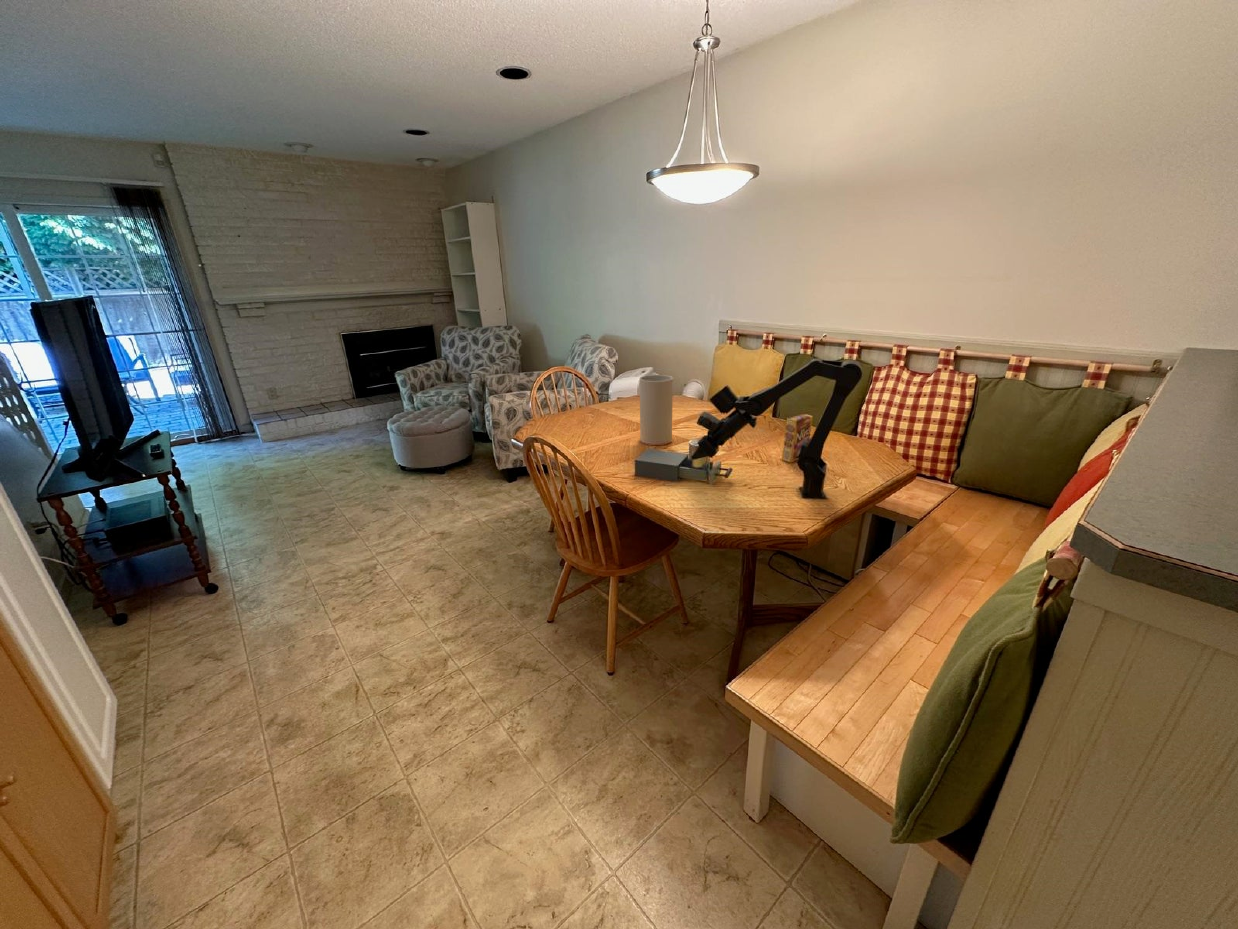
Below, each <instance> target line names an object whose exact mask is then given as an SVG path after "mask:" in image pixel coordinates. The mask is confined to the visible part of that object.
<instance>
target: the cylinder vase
mask: <svg viewBox="0 0 1238 929" xmlns="http://www.w3.org/2000/svg"><path fill="white" fill-rule="evenodd" d="M673 387H674V378H673V376H671V375H665V374H648V375H642V376H640V377H639V425H640V427H639V435H640V436H639V437H640V442H641V443H642V444H645V445H648V446H649V445H650V446H662V445H668V444H669V443H671V442H672V440H673V400H674V399H673V398H674V394H673V391H674V390H673V389H674V388H673Z"/></svg>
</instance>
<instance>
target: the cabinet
mask: <svg viewBox="0 0 1238 929" xmlns="http://www.w3.org/2000/svg"><path fill="white" fill-rule="evenodd" d="M686 458H689V453H686V452H677V451H671V450H661V449H653V448H646V449H645V450H644V451H643V452H641V454H640V455H639V456H638V457H637V458H635V459H634V476H635V477H640V478H646V479H647V478H648V479H654V480H655V479H656V480H661V481H668V482H673V483H678V482H679V481H680V480H681V479H682V478H681V477H678V467H679V466H680V465H681V464H682V463H683V461H684V460H685V459H686Z"/></svg>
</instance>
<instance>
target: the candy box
mask: <svg viewBox="0 0 1238 929" xmlns="http://www.w3.org/2000/svg"><path fill="white" fill-rule="evenodd" d="M813 418H814V417H813V415H810V414H807V413H806V414H805V413H801V414H798V415H794V416H790V417H786V425H785V431H784V440H783V446H782V455H781V460H783V461H784V462H787V463H790V464H791V463H794V462H797V461H798V458H796V457H797V453H798V450H799V449H800V448H801V447H802V443H803V440H804V439H805V440H807V441H809V440H810V438H811V431H812V424H813Z"/></svg>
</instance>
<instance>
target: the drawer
mask: <svg viewBox="0 0 1238 929" xmlns="http://www.w3.org/2000/svg"><path fill="white" fill-rule="evenodd" d="M722 471H725V473H721V472H722ZM706 472H707V470H700V469H692V468H689V457H688V458H686V459H685V460H684V461H683V463H682V464H681V465H680V466H679V467H678V477H681V478H680V479H689V480H696V481H703V482H706V481H707V479H709V480H708V484H711V485H712V484H714V483H715V481H716V480H717V478H718V477H723V478H724V479H729V478H730V476H731V475H732V472H733V467H728V468H726V467H722V460H717V461H716V462H715V464H714V461H711V460H710V470H709V474H707V475H706Z"/></svg>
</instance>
